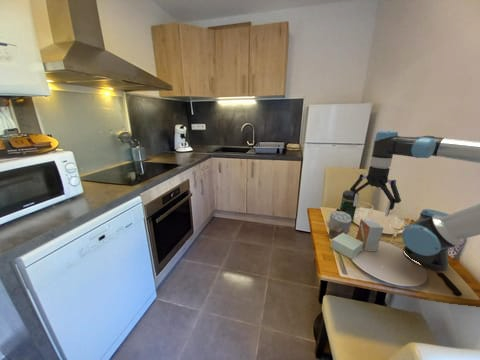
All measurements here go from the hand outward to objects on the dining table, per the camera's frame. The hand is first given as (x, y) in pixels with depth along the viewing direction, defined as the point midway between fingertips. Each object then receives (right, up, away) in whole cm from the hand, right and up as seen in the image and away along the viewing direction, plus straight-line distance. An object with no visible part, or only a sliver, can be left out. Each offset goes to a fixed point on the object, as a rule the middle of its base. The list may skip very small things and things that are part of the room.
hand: (370, 210), depth 94 cm
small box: (+1, -19, +4) cm, 19 cm away
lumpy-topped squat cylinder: (-5, -13, +21) cm, 25 cm away
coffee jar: (+4, -11, +29) cm, 31 cm away
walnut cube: (-12, -16, +11) cm, 23 cm away
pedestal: (-11, -19, +2) cm, 22 cm away
